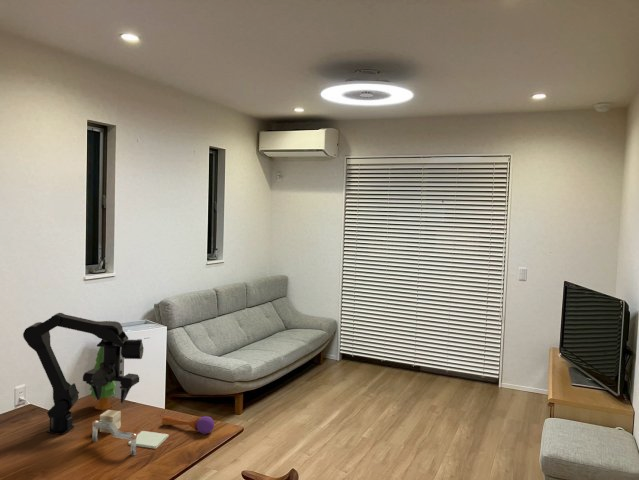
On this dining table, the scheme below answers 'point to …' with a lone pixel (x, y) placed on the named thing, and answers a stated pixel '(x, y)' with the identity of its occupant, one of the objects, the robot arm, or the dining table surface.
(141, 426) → the dining table surface
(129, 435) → the steel handle
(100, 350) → the decorative tree
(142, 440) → the sage pad
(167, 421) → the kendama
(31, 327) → the robot arm
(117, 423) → the birch block
